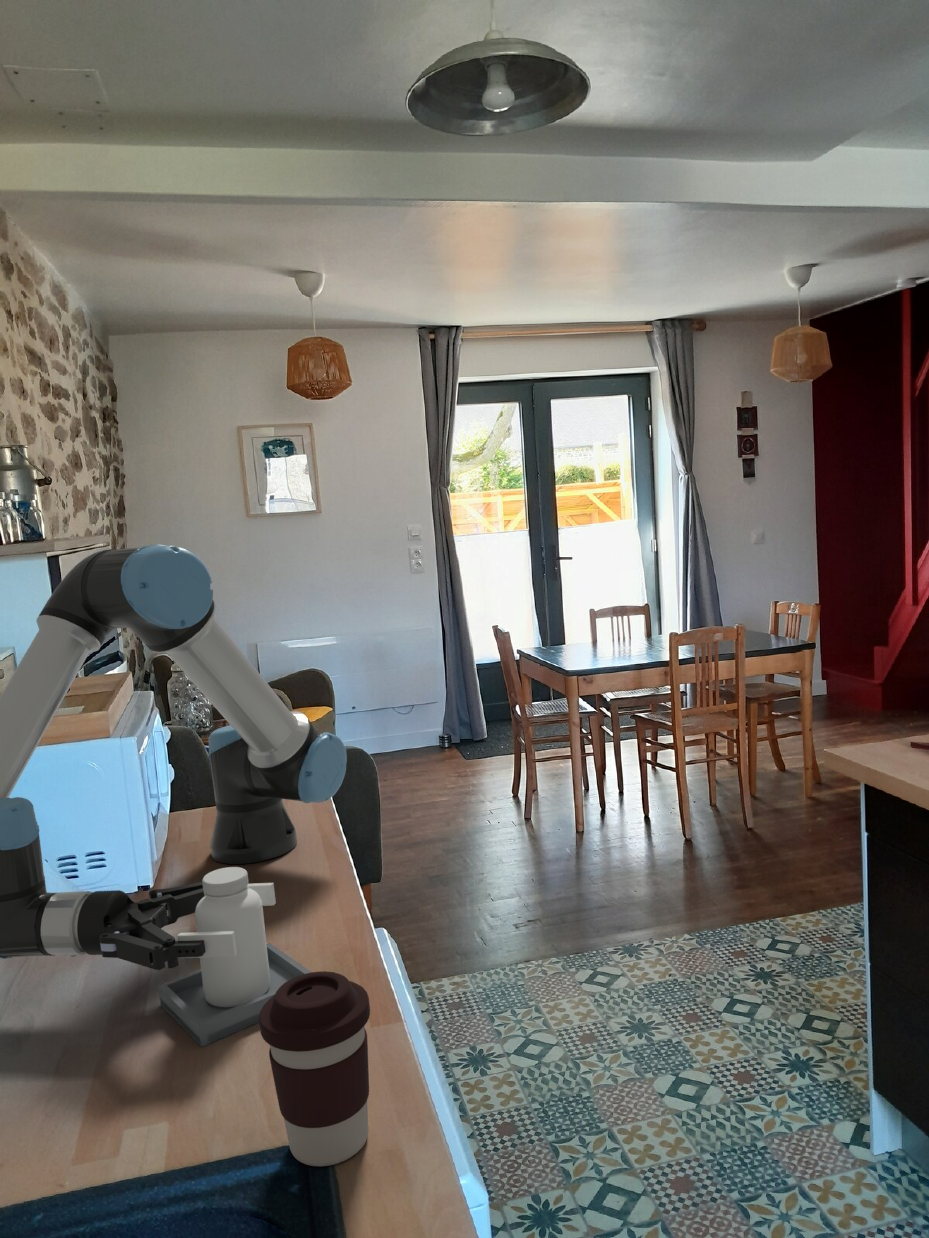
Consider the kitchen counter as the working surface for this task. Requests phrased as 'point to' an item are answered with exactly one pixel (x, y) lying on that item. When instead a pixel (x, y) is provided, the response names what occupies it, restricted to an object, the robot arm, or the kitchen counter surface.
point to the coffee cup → (320, 1064)
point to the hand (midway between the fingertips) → (255, 917)
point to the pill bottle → (243, 914)
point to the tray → (217, 1022)
